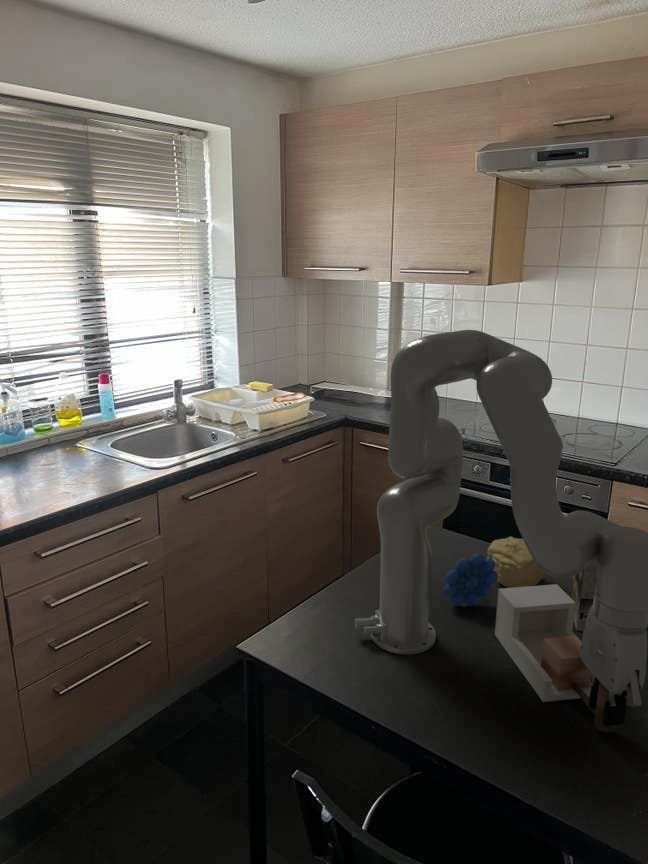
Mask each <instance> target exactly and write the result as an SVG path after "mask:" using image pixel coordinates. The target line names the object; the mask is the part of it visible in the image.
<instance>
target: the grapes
mask: <svg viewBox="0 0 648 864" xmlns="http://www.w3.org/2000/svg"><path fill="white" fill-rule="evenodd" d="M455 568H456V569H450V570H448V572H447V573H446V574H445V582H447V584H446V585H445V586H444V587H443V595H444V596H445V597H446V598H450V602H451V604H452V605H453V606H455V607H459V606H461V605H462V604H464V605H466V606H467V607H473V606H474V605H476V604H477V603H478V600H479V598H481V599H484V598H487V597H489V595H490V594H491V593H492V592H491V591H492V589H491V588H492V587H491V585H494V584H495V583H496V582H498V581H497V578H498V575H497V572H496V571H493V569H494V568H495V561H494V560H493V559H490V558H489V559H487V558H486V559H485V557H484V555H483V554H482V553H475V554H473V555H472V556H471V557H470V559H469V558H468V557H462V558H459V559H458V560H457V561H456V564H455Z"/></svg>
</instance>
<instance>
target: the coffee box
mask: <svg viewBox="0 0 648 864" xmlns="http://www.w3.org/2000/svg"><path fill="white" fill-rule="evenodd" d="M597 570H598V565H597V564H596V563H590V564H589V565H587V566H586V567H585V568H584V569H583V570H582V571H581V572H579V573H578V574H576V575H574V576H572V581H571V589H570V598H571V599H572V600H573V601H574V602H575V603H576V604H575V612H574V621H573V625H574V627H575V630H576V631H579V632H580V631H581V632H583V631H584V627H585V622H586V619H587V616H588V613H589V610H590V608H591V606H592V605H593V602H594V594H595V586H596V578H597Z"/></svg>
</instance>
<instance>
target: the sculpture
mask: <svg viewBox="0 0 648 864" xmlns="http://www.w3.org/2000/svg"><path fill="white" fill-rule="evenodd" d="M489 558H490V559H493V560H494V561H495V568H494V569H493V571H496V572H497V575H498V578H497V581H496V582H498V583H499V584H501V585H502V586H503V587H505V588H514V587H527V586H538V584H539V583H540V581H542V578H543V577H544V574H545V572H544V571H543V570H542V569H541V568H540V567H539V566H538V565H537V564H536V562H535V561H534V559H533V558H532V556H531V554H530V552H529V550H528V548H527V546H526V544H525V542H524V540H523V538H517V537H513V536H509V537H506V538H501V539H500V538H499V539H495V540H493V541H492V542H491V544H490V546H488V548H487V557H486V559H489Z"/></svg>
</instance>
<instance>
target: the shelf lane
mask: <svg viewBox="0 0 648 864" xmlns="http://www.w3.org/2000/svg"><path fill="white" fill-rule="evenodd" d="M497 590H498V591H497V602H496V603H497V604H496V613H495V615H496V616H495V625H494V626H495V629H494V636H496V639H497V640H498V642H499V643H500V644H501V646H502V647H503V648H504V649H505V651H506V652H507V654H508V655H509V656H510V658H511V659H512V660H513V662H514V664H515V665H516V666H517V668H518V669H519V671H520V672H521V673H522V675H523V676H524V677H525V679H526V681H528V683H529V684H530V686H531V687H532V688H533V690H534V692H535V693H536V694H537V696H539V697H538V698H540V699H541V702H543V703H545V702H547V703H548V702H555V701H566V700H574V699H581V697H580V696H579V695H578V694H577V692H576V691H575V690H574V689H563V690H557V689H556V687H555V686H554V685H553V684H552V680H551V678H550V677H549V676H548V675H547V673H546V672H545V671H544V669H543V668H542V667H541V661H542V652H543V642H544V639H545V638H556V637H567V636H577V635H576V633H574V632H573V629H574V628H573V627H574V612H575V604H576V603H575V602H574V601H573V600H572V599H571V596H570V595H568V593H566V592H565V590H563V589H562V588H561V587H560V586H559V584H556V583H555V584H544V585H542V584H541V585H535V586H527V587H514V588H507V587H505V588H503V587H502V588H498V589H497ZM578 639H579V640H580V641H581V642H582V639H580V638H579V637H578ZM591 685H592V684H591ZM581 689H582V690H583V692H584V693H585V694H586V695H587V696H588V698H590V692H591V687H583V688H581Z"/></svg>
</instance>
